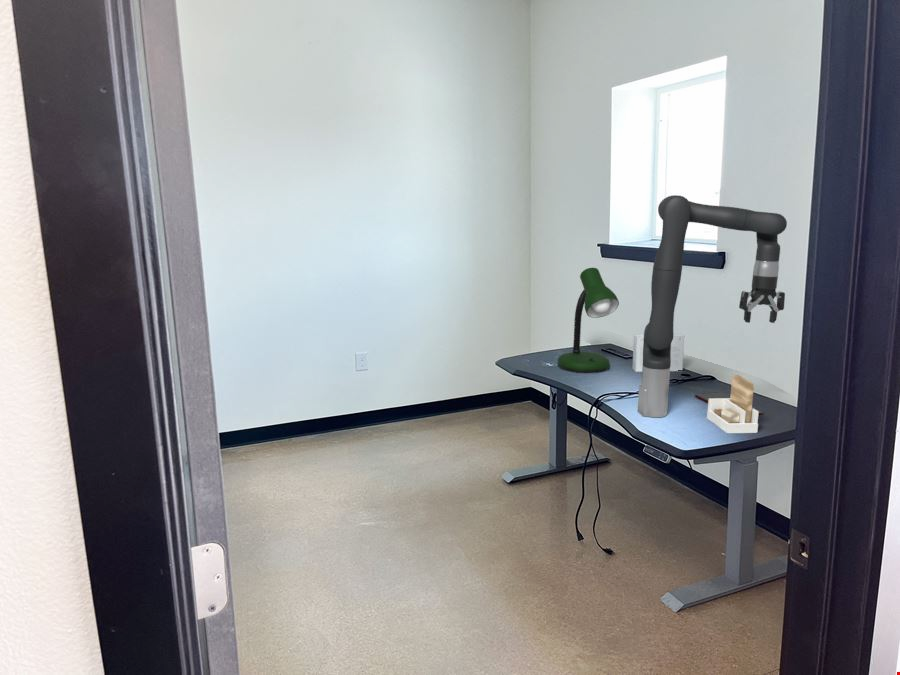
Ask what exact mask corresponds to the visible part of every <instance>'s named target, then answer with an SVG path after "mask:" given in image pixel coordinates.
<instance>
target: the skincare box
mask: <svg viewBox="0 0 900 675" xmlns="http://www.w3.org/2000/svg"><path fill="white" fill-rule="evenodd" d="M643 343H644V334H634V335H633V351H632V370H633V371H634V372H635V373H642V367H643ZM684 347H685V335H683V334H679V333H678V334H676V333H675V334H674V333H673V340H672V342H671V365H670V372H679V371H678V370H683V367H684V354H685V352H684Z"/></svg>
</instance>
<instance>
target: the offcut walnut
mask: <svg viewBox="0 0 900 675" xmlns="http://www.w3.org/2000/svg"><path fill="white" fill-rule="evenodd" d="M721 412H722V409H714V413H715V414H717V415H718V416H719V417H721Z"/></svg>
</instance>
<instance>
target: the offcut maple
mask: <svg viewBox="0 0 900 675" xmlns="http://www.w3.org/2000/svg"><path fill="white" fill-rule="evenodd" d="M739 417H740V413H739V412H737V411H735V410H733V409H732V408H729V409H722V412H721V418H723V419H724V420H726V421H728V422H739Z"/></svg>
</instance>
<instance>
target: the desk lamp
mask: <svg viewBox="0 0 900 675" xmlns="http://www.w3.org/2000/svg"><path fill="white" fill-rule="evenodd" d="M579 279H580V282H581V284H582V286H583V287H582V288H583V291H581V293H580V295H579V297H578V298H577V303H576V307H575V311H574V320H573V321H574V326H573V331H574V332H573V342H572V343H573V344H572V345H573V346H572V347H573V349H572V352H567V353H566V352H565V353H563V354H561V355H559V356H558V358H557V366H558V367H559V368H560V369H562V370H564V371H567V372H571V373H572V372H573V373H580V374H581V373H582V374H588V373H589V374H591V373H594V374H595V373H602V372H606V371H609V370H610V368H611V367H610V364H611V363H610V362H611V361H610V360H609V358H608V357H607V356H605V355H603V354H599V353H597V352H588V351H587V352H586V351H581V335H582V334H581V333H582V332H581V328H582V315H583V310H585V313H586V315H587V316H588V317H589V318H595V319H597V318H598V319H599V318H604V317H607V316H609V315H610V314H612V313H614V312H615V311H616V310H617V309H618V307H619V304H620V302H619V299H618V296H617V295H616V294H615V293H614V291H613V290H612V289H610V288H609V287H608V286H606V284H605V282H604V280H603V278H602V275H601V273H600V271H599V269H598V268H597V267H589V268H585V269H584V270H582V272H580V275H579Z"/></svg>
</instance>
